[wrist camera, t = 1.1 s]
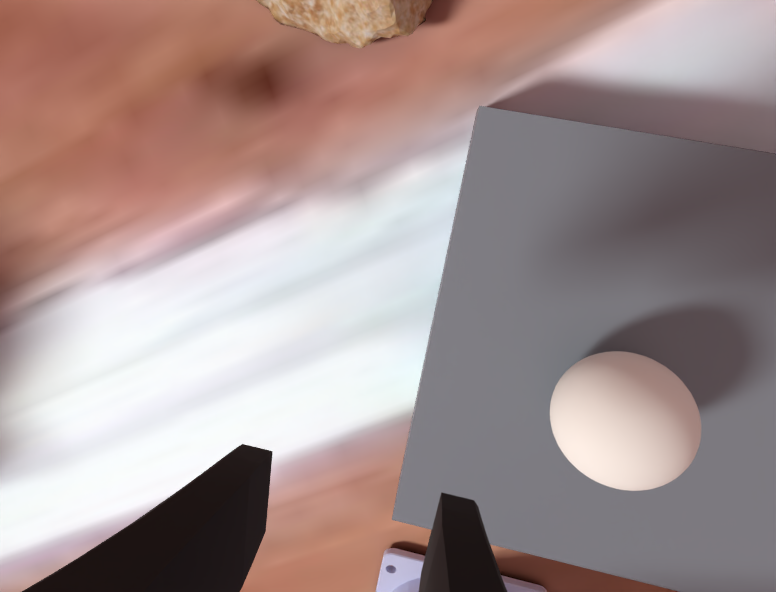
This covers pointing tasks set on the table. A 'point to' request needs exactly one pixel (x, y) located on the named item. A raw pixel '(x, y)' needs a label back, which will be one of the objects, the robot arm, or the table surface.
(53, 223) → the table surface
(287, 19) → the stone
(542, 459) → the plate
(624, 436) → the ball
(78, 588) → the robot arm
